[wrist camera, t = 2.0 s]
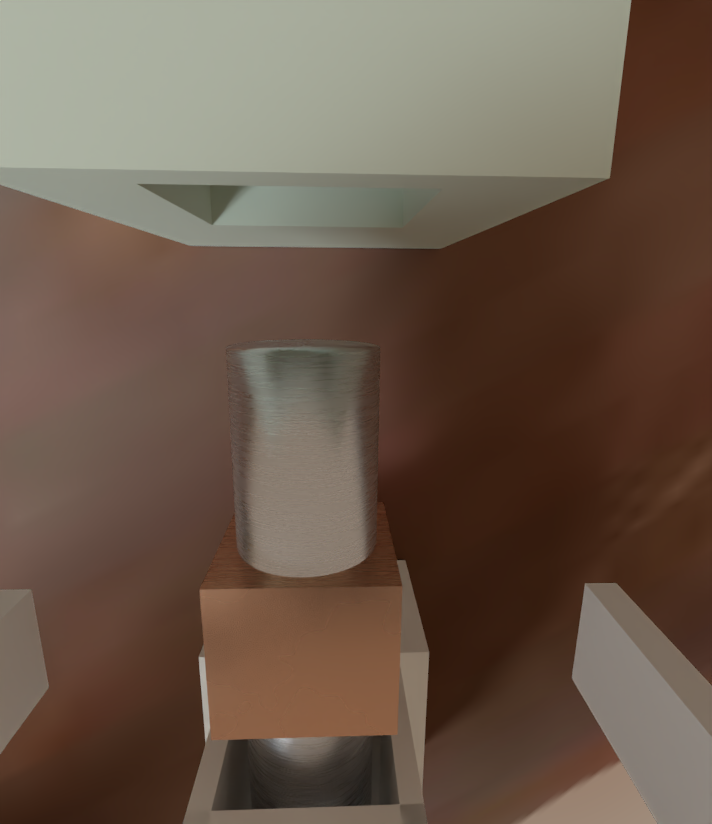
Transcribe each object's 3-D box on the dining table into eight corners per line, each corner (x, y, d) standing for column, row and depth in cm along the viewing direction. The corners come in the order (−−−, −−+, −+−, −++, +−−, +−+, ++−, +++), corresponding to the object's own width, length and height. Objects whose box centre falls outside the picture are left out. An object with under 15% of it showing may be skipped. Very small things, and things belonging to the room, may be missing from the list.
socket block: (440, 248, 20) (609, 177, 8) (191, 246, 19) (-57, 166, 7) (447, 110, 19) (659, -237, 6) (181, 104, 18) (-136, -280, 6)
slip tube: (375, 848, 18) (387, 1018, 14) (257, 853, 18) (232, 1026, 14) (387, 338, 14) (409, 359, 10) (230, 337, 14) (182, 358, 9)
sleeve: (398, 763, 26) (448, 1141, 14) (246, 768, 26) (172, 1158, 14) (405, 559, 23) (474, 827, 12) (234, 562, 23) (129, 840, 11)
